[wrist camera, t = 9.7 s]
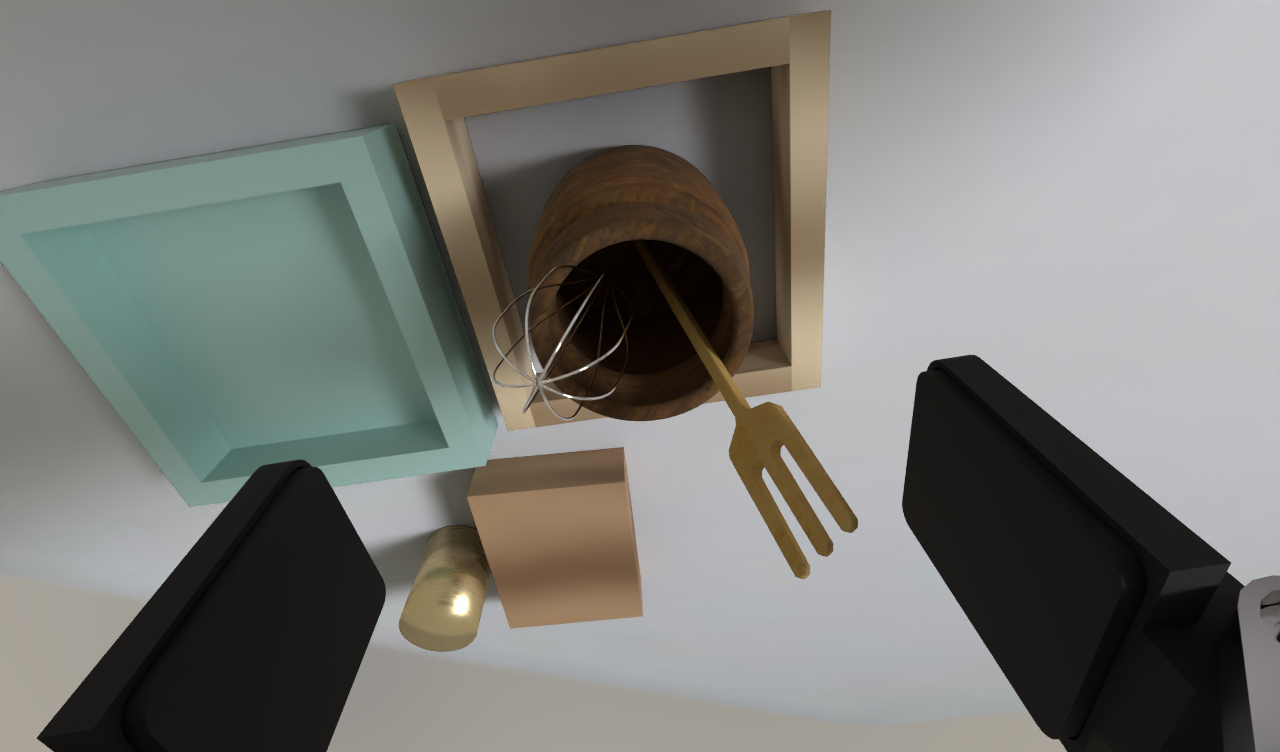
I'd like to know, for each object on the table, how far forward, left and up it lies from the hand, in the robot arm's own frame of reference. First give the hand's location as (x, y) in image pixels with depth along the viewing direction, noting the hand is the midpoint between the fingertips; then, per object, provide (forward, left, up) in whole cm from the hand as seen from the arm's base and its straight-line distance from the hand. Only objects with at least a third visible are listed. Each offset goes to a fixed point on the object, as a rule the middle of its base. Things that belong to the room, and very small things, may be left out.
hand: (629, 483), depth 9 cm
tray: (+1, -11, -11) cm, 16 cm away
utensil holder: (0, +1, -12) cm, 12 cm away
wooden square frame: (0, +1, -11) cm, 11 cm away
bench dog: (+13, -9, -11) cm, 19 cm away
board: (+12, -4, -12) cm, 17 cm away
